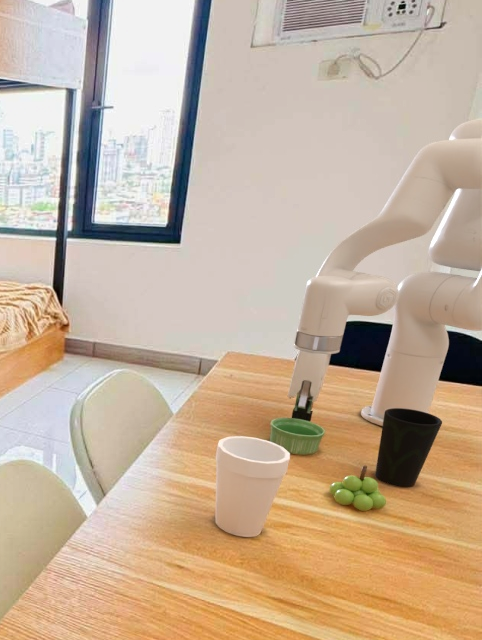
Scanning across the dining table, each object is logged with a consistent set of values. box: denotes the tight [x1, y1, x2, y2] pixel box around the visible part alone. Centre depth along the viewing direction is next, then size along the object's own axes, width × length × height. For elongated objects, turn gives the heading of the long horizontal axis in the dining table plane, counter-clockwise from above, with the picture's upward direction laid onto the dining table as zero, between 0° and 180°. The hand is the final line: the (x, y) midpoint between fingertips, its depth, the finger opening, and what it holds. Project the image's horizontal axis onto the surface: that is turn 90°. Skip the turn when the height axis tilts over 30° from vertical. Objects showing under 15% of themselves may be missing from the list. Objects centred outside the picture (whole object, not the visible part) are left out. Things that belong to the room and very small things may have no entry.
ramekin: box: [269, 417, 326, 456], centre depth 122 cm, size 9×9×4 cm
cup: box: [374, 408, 443, 488], centre depth 108 cm, size 8×8×12 cm
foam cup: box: [214, 435, 291, 538], centre depth 94 cm, size 10×9×13 cm
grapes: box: [329, 464, 387, 512], centre depth 102 cm, size 8×7×7 cm
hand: (298, 428), depth 127 cm, fingers closed
